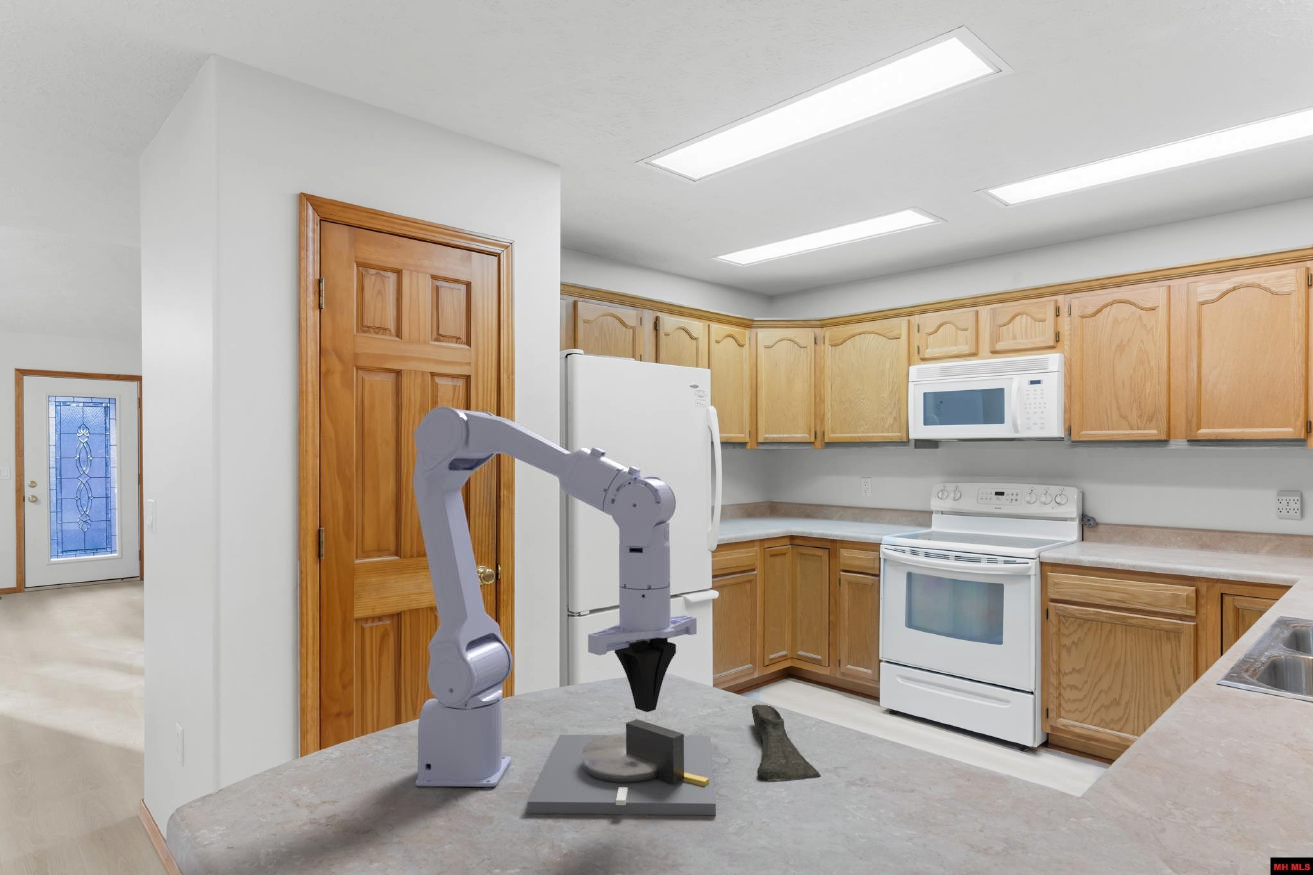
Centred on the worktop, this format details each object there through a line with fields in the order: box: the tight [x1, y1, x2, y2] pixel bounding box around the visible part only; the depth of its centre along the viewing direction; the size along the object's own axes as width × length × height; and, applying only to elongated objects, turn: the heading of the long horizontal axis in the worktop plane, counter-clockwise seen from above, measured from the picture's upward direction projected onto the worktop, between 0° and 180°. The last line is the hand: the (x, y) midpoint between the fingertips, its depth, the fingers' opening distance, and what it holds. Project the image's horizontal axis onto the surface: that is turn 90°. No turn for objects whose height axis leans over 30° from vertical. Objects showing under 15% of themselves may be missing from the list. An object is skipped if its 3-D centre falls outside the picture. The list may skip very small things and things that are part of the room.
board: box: [527, 734, 717, 816], centre depth 89 cm, size 20×21×2 cm
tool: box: [751, 704, 822, 782], centre depth 98 cm, size 21×8×3 cm, turn 3°
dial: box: [582, 718, 685, 784], centre depth 88 cm, size 14×11×5 cm
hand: (645, 708), depth 83 cm, fingers closed
